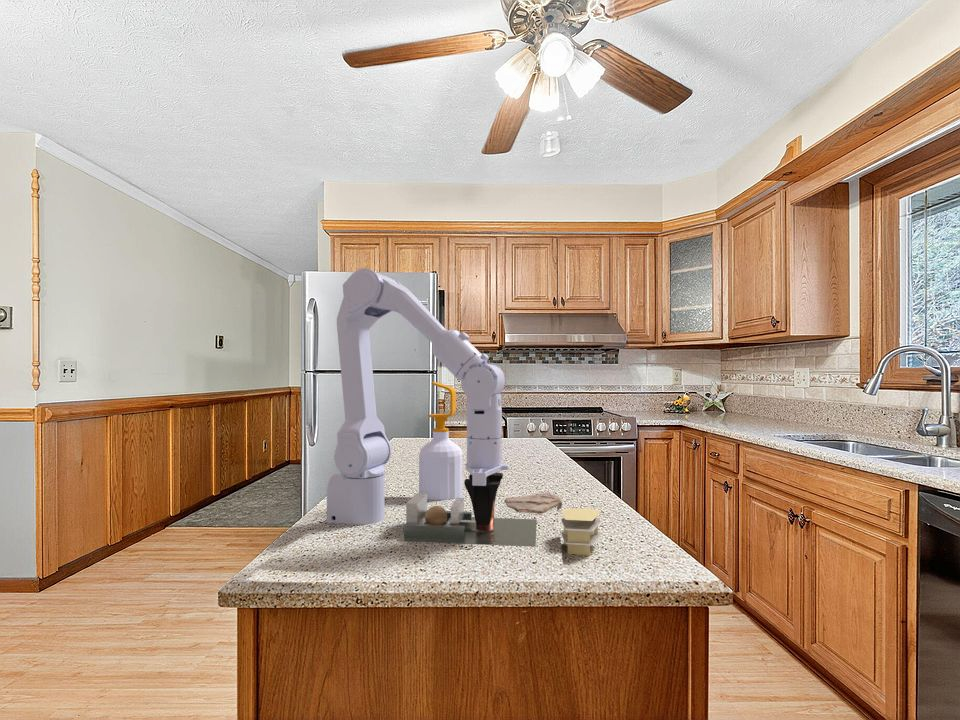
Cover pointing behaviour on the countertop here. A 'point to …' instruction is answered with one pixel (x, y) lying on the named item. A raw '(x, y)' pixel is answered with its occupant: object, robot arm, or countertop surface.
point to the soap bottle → (441, 459)
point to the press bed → (502, 534)
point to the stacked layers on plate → (580, 530)
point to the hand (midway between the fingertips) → (484, 521)
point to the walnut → (436, 516)
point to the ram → (458, 515)
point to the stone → (534, 503)
